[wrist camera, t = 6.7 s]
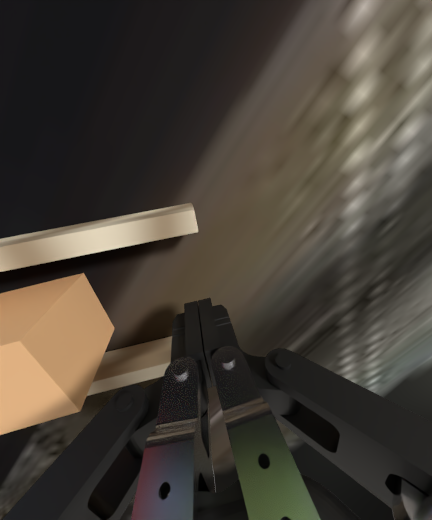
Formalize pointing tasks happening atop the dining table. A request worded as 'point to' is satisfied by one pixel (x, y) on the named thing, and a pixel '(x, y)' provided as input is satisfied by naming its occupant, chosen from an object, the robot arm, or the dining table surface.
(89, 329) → the block
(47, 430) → the dining table surface
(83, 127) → the dining table surface
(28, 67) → the dining table surface
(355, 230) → the dining table surface
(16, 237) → the guide lane
